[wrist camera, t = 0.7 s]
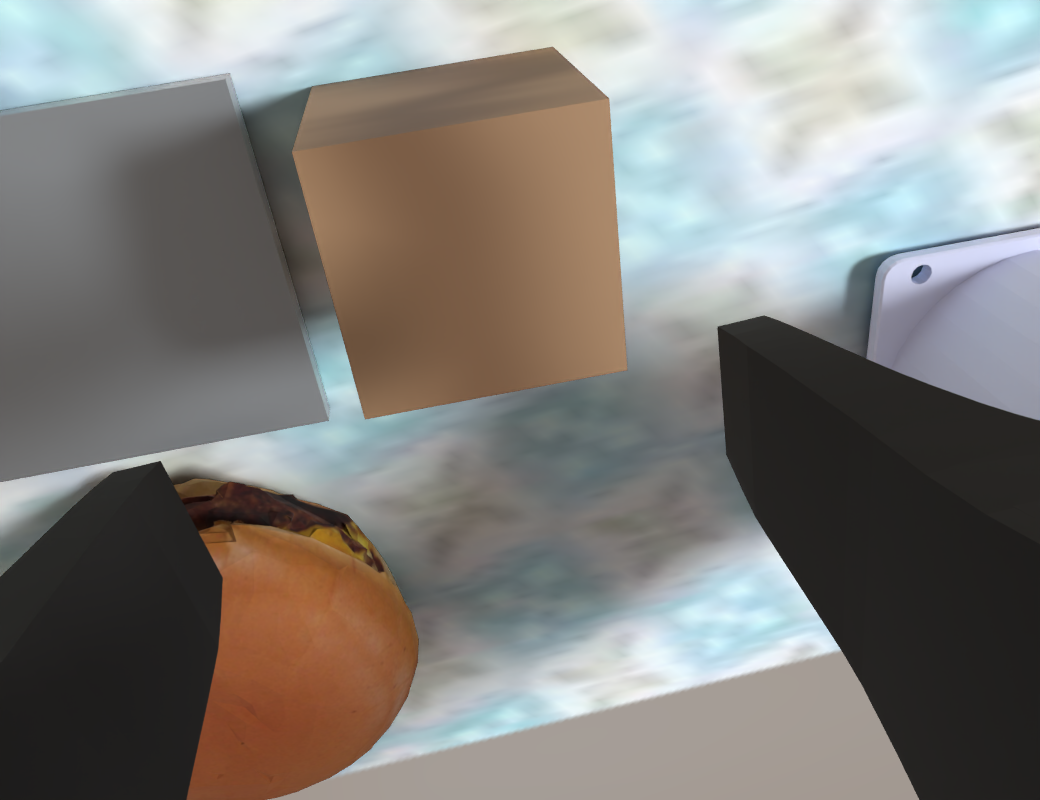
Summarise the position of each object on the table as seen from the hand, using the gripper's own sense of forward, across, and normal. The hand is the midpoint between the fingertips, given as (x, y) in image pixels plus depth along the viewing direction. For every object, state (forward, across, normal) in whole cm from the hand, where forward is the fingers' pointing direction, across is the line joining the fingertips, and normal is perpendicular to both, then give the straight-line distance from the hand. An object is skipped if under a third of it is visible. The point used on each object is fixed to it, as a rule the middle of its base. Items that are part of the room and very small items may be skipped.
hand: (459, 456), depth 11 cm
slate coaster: (+9, +7, 0) cm, 12 cm away
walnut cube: (+10, -1, 0) cm, 10 cm away
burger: (+10, +8, +10) cm, 16 cm away
